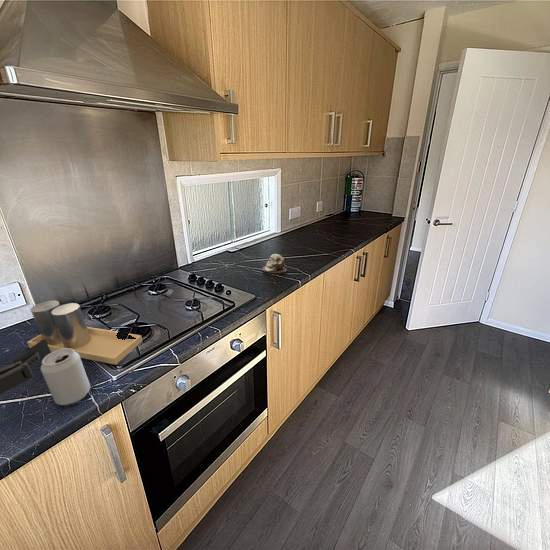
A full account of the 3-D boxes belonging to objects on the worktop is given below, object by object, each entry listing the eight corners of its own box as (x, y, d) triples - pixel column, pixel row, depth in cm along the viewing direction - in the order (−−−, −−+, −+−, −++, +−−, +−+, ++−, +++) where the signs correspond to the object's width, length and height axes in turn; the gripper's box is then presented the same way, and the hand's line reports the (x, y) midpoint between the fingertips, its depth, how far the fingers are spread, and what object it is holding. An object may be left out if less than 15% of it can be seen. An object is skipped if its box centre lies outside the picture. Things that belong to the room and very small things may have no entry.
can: (70, 411, 67) (53, 370, 62) (48, 403, 70) (29, 362, 65) (98, 388, 73) (84, 349, 69) (77, 381, 76) (62, 343, 71)
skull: (272, 275, 133) (263, 255, 135) (264, 283, 142) (255, 264, 144) (293, 268, 139) (284, 249, 141) (284, 276, 148) (276, 258, 150)
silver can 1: (38, 343, 91) (24, 310, 86) (59, 331, 97) (47, 299, 92) (56, 347, 89) (42, 313, 84) (76, 334, 95) (64, 301, 90)
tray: (29, 348, 89) (26, 342, 88) (63, 328, 99) (60, 322, 98) (116, 366, 81) (113, 358, 80) (143, 342, 91) (141, 335, 90)
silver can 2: (58, 347, 89) (45, 313, 84) (78, 334, 95) (67, 302, 90) (76, 351, 87) (63, 316, 82) (95, 337, 93) (84, 304, 88)
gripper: (-205, 467, 39) (-39, 366, 59) (-28, 462, 38) (80, 360, 57) (-243, 424, 36) (-56, 333, 56) (-55, 417, 35) (68, 327, 55)
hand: (13, 347), depth 57 cm, fingers open, 13 cm apart
